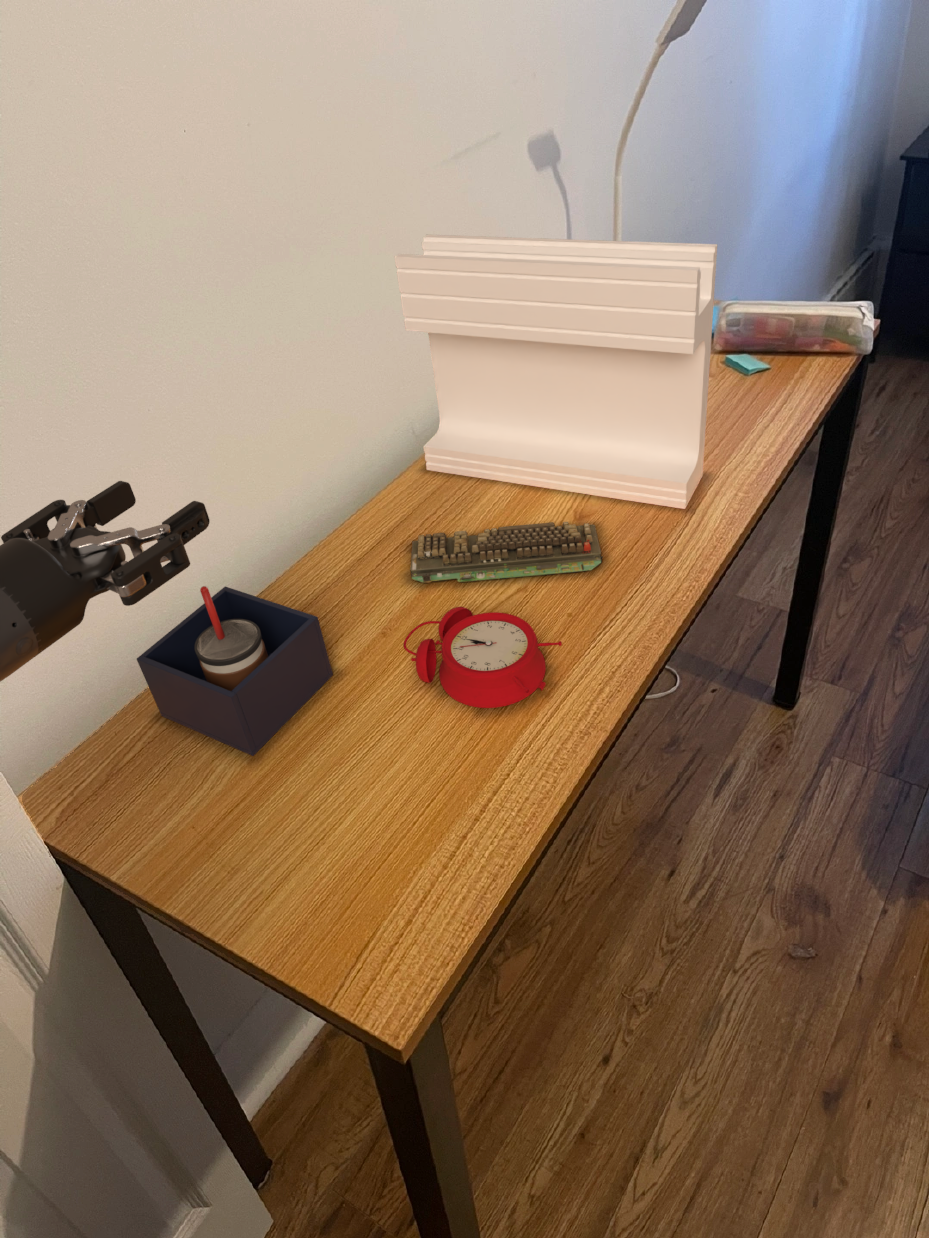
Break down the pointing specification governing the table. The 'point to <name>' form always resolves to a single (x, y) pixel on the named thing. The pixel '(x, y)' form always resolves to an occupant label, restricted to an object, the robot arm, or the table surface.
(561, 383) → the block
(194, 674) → the bin
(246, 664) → the paper cup
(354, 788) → the table surface
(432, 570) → the keyboard
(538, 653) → the alarm clock
